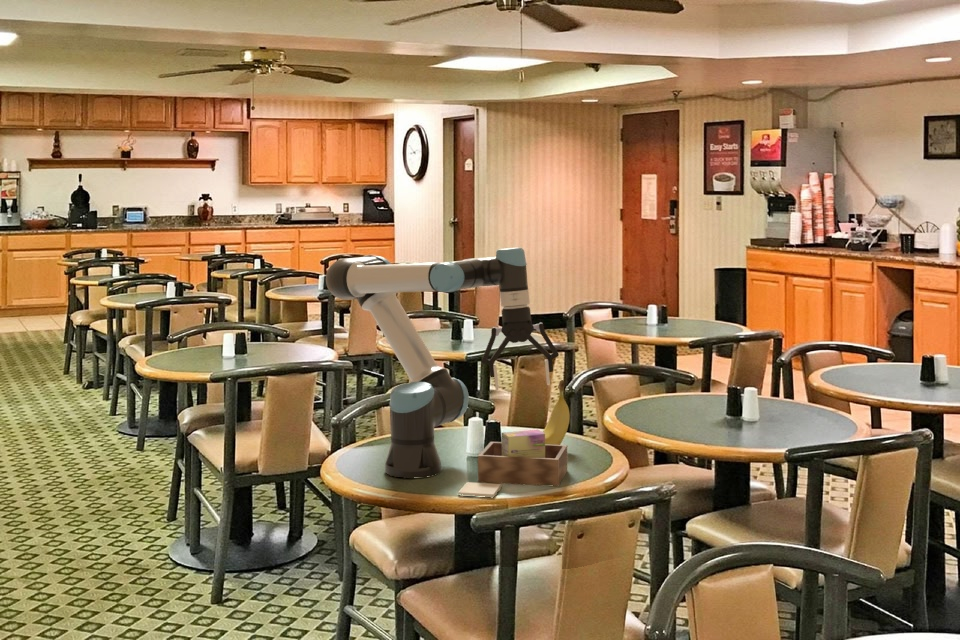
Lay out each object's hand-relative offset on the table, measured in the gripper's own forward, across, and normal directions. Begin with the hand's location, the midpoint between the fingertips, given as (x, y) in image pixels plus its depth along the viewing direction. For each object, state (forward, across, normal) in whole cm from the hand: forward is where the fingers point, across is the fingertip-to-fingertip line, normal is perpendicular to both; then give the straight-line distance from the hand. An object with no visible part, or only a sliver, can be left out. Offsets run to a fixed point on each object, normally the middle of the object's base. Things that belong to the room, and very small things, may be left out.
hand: (522, 387), depth 283 cm
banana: (+23, +5, +20) cm, 31 cm away
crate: (+23, -2, -2) cm, 24 cm away
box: (+24, -2, -2) cm, 24 cm away
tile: (+23, -13, -15) cm, 31 cm away
